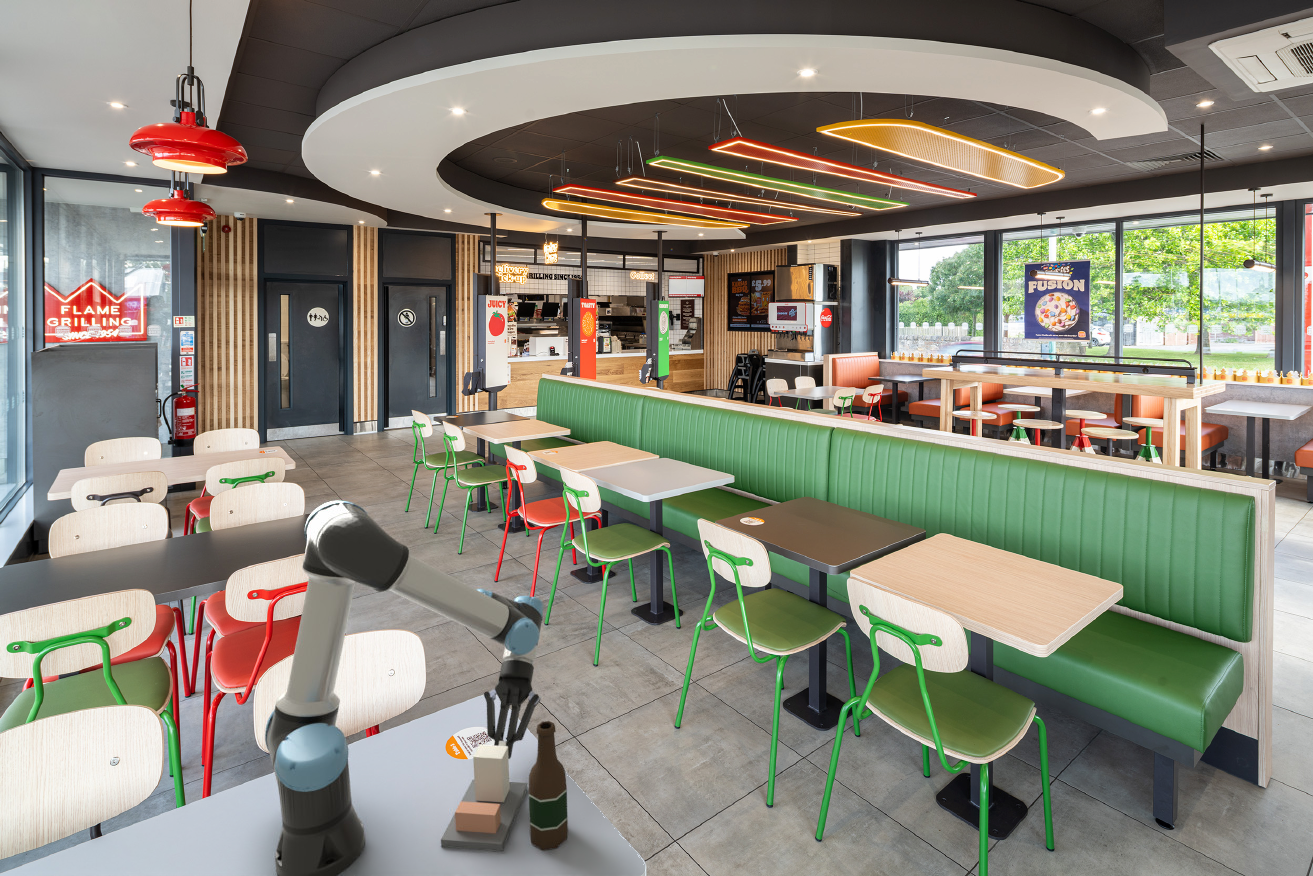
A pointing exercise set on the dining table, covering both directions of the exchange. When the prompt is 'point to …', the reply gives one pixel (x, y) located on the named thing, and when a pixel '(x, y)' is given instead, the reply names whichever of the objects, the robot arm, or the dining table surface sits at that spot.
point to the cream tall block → (491, 773)
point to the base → (487, 839)
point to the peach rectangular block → (477, 817)
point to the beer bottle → (547, 793)
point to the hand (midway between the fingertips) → (498, 775)
